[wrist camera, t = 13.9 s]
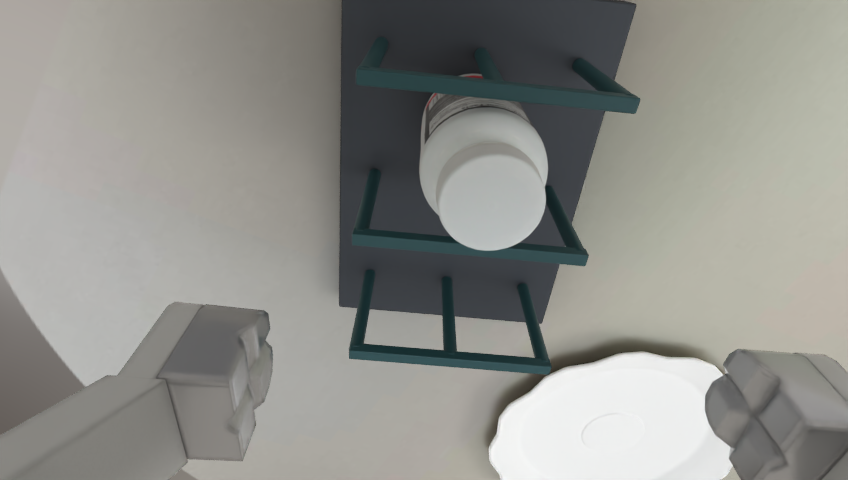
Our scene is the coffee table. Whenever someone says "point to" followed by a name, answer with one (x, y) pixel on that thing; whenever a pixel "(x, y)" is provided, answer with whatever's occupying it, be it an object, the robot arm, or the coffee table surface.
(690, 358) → the plate
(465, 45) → the rack
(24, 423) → the robot arm
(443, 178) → the pill bottle
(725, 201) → the coffee table surface
